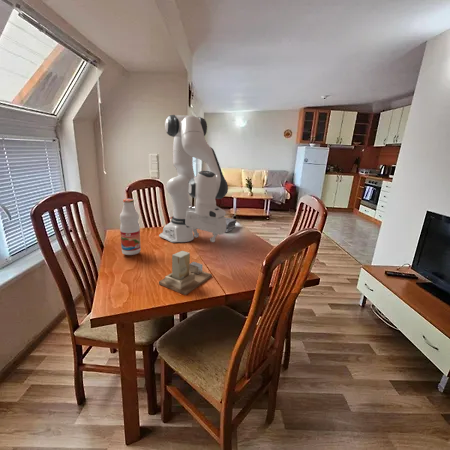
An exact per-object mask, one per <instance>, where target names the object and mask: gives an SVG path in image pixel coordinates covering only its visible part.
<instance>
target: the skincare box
mask: <svg viewBox="0 0 450 450" xmlns="http://www.w3.org/2000/svg"><path fill="white" fill-rule="evenodd" d="M190 254H191V253H190V252H189V251H184V250H180V251H178V252H176V253H172V255H171V257H172V258H171V260H172V261H171V263H172V265H171V273H172V278H174V279H177V280H179V281H181V280H182V279H184V278H186V277H187V276H189V267H190V262H191V260H190V259H191V258H190V257H191V255H190Z"/></svg>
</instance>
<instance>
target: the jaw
mask: <svg viewBox="0 0 450 450" xmlns="http://www.w3.org/2000/svg"><path fill="white" fill-rule="evenodd" d="M189 271H190V272H193V273H196V274H200V273H201V272H202V271H203V264H202V263H199V262H196V261H192V262H191V263H190V267H189Z"/></svg>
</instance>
